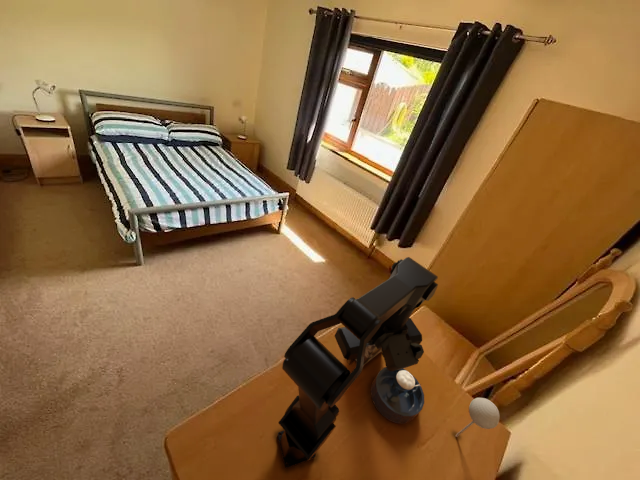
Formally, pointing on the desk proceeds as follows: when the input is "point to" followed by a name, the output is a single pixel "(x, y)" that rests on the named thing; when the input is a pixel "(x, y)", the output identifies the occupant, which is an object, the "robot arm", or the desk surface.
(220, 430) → the desk surface
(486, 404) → the lollipop
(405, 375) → the milkshake
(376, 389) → the bowl
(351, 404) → the desk surface
